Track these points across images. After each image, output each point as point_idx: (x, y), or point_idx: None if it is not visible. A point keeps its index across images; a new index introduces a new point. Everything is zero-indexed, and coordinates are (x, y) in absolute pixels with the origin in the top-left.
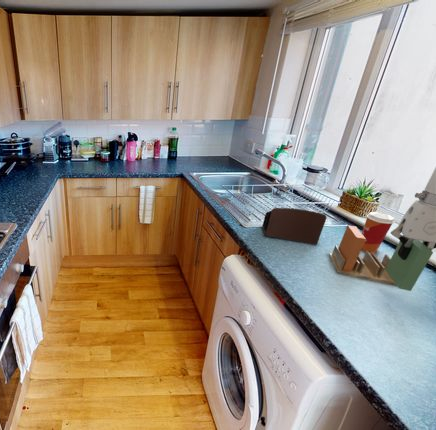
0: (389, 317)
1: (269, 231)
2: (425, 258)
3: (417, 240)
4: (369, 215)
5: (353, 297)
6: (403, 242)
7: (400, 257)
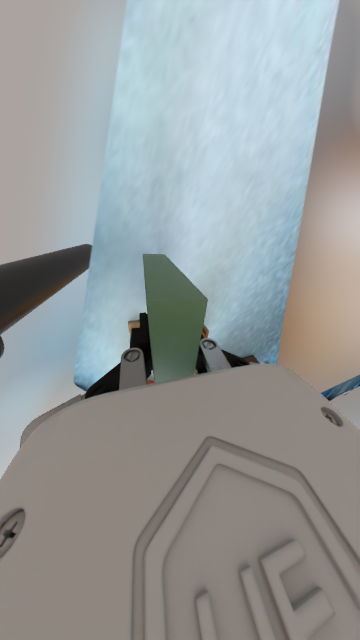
0: (170, 204)
1: (255, 362)
2: (160, 283)
3: None
4: None
5: (207, 253)
6: (223, 353)
7: None
